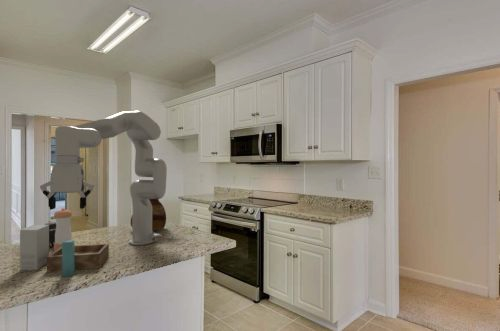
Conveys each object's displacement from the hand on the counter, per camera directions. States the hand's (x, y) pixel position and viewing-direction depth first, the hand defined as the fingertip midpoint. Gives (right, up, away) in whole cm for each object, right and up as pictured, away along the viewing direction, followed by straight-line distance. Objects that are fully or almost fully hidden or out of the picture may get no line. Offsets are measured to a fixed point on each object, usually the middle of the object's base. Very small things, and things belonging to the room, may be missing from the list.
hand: (67, 208), depth 106 cm
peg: (0, -24, 0) cm, 24 cm away
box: (-3, -24, +12) cm, 27 cm away
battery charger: (-29, -24, +35) cm, 51 cm away
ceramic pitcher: (+5, -23, +69) cm, 73 cm away
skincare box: (-18, -24, +9) cm, 31 cm away
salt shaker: (-21, -24, +31) cm, 44 cm away
